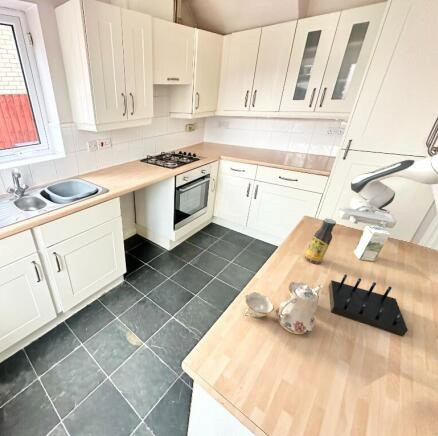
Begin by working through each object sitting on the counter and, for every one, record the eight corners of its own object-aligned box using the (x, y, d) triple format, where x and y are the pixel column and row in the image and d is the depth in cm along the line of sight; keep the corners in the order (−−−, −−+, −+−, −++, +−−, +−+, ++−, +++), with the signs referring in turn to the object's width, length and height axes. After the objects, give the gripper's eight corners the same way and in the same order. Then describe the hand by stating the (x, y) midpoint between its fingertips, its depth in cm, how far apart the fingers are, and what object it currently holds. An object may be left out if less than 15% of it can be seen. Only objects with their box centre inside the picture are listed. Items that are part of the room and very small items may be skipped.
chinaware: (295, 291, 91) (303, 253, 85) (341, 322, 77) (356, 280, 70) (234, 313, 83) (239, 273, 76) (273, 354, 68) (283, 309, 62)
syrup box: (367, 254, 108) (382, 226, 101) (374, 262, 103) (390, 233, 96) (352, 252, 109) (366, 224, 102) (359, 260, 104) (373, 231, 97)
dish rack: (391, 304, 83) (402, 288, 79) (403, 336, 73) (416, 320, 69) (328, 286, 91) (335, 270, 88) (330, 312, 81) (339, 296, 77)
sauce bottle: (301, 257, 106) (315, 217, 97) (311, 254, 108) (326, 215, 99) (314, 266, 101) (331, 225, 92) (325, 262, 103) (342, 222, 93)
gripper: (340, 202, 123) (343, 213, 113) (393, 211, 114) (401, 224, 104) (336, 213, 126) (338, 225, 116) (387, 222, 117) (394, 236, 107)
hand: (368, 224), depth 110 cm, fingers open, 8 cm apart
